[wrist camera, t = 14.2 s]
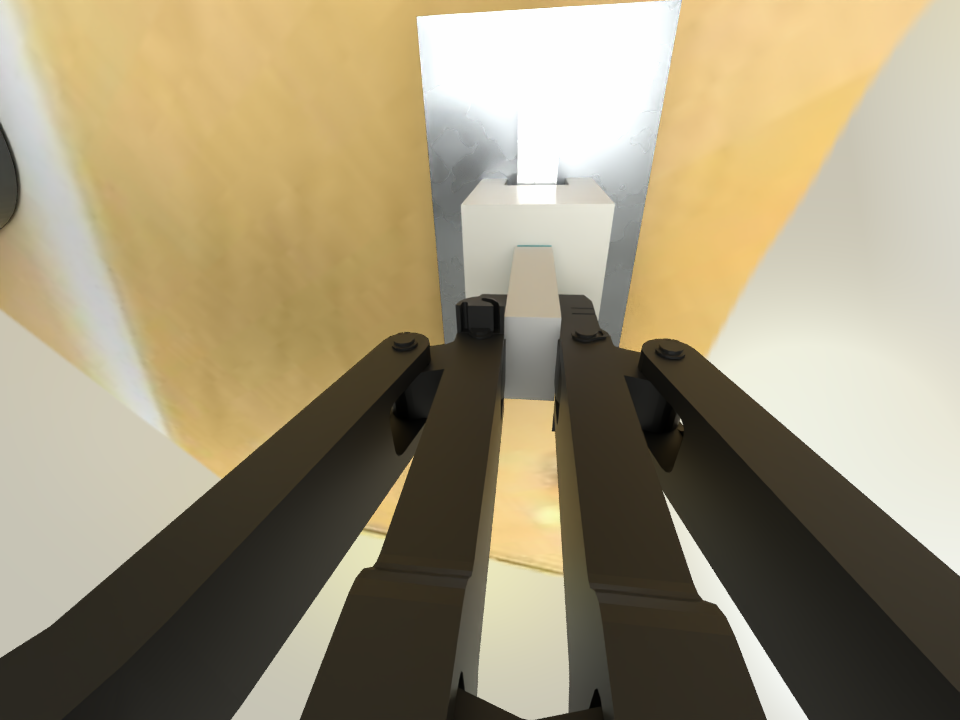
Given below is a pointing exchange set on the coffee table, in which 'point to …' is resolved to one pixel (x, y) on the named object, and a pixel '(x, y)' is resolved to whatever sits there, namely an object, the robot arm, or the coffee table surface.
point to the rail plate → (587, 125)
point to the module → (537, 234)
